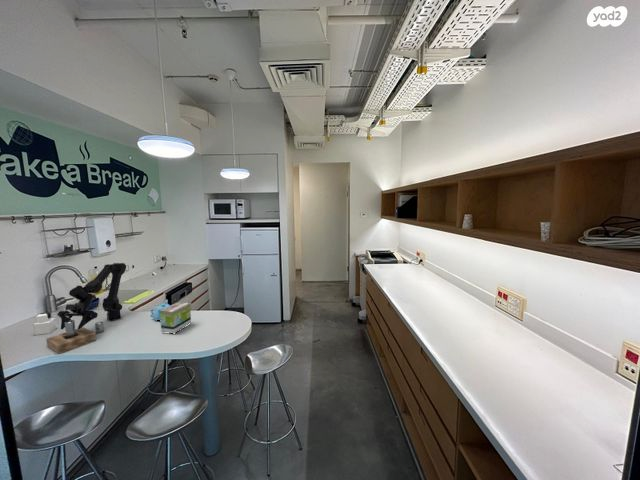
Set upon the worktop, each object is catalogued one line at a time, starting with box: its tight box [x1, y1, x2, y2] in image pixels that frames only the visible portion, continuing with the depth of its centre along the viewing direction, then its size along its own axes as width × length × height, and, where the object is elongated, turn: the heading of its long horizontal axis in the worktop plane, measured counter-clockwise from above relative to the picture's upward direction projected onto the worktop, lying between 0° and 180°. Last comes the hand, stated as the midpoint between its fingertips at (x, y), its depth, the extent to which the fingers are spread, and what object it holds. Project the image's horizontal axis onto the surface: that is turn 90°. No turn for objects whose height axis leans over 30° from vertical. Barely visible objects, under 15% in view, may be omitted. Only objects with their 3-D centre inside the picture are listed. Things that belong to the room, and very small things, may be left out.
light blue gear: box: [150, 299, 171, 321], centre depth 181 cm, size 15×15×10 cm
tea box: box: [160, 302, 192, 333], centre depth 165 cm, size 15×10×15 cm
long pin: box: [64, 319, 76, 339], centre depth 147 cm, size 4×4×13 cm
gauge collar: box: [46, 326, 97, 355], centre depth 147 cm, size 16×16×4 cm
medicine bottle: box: [33, 311, 58, 336], centre depth 160 cm, size 7×7×12 cm
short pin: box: [94, 321, 105, 335], centre depth 160 cm, size 4×4×6 cm
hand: (70, 329), depth 146 cm, fingers open, 9 cm apart
